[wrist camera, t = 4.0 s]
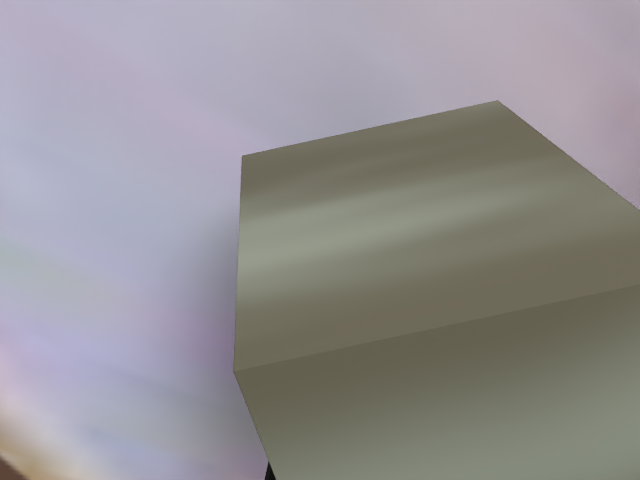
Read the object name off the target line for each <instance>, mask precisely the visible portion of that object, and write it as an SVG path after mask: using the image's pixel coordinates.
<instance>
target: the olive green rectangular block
mask: <svg viewBox="0 0 640 480" xmlns="http://www.w3.org/2000/svg"><path fill="white" fill-rule="evenodd" d="M234 374H235V376H236V379H237V382H238V384H239V387H240V389H241V392H242V394H243V397H244V399H245V402H246V404H247V407H248V409H249V412H250V414H251V417H252V420H253V422H254V425H255V427H256V430H257V432H258V435H259V437H260V440H261V442H262V445H263V447H264V450H265V452H266V455H267V458H268V460H269V463H270V465H271V468H272V470H273V473H274V475H275V478H276V480H640V210H638V209H637V208H636V207H635V206H633V205H632V204H631V203H629V202H628V201H627V200H626V199H624V198H623V197H622V196H620V195H619V194H618V193H617V192H615V191H614V190H613V189H611V188H610V187H609V186H608V185H606V184H605V183H604V182H602V181H601V180H600V179H598V178H597V177H596V176H595V175H593V174H592V173H591V172H589V171H588V170H587V169H586V168H584V167H583V166H582V165H580V164H579V163H578V162H577V161H575V160H574V159H573V158H571V157H570V156H569V155H568V154H566V153H565V152H564V151H562V150H561V149H560V148H559V147H557V146H556V145H555V144H553V143H552V142H551V141H550V140H548V139H547V138H546V137H544V136H543V135H542V134H541V133H539V132H538V131H537V130H535V129H534V128H533V127H532V126H530V125H529V124H528V123H526V122H525V121H524V120H523V119H521V118H520V117H519V116H517V115H516V114H515V113H514V112H512V111H511V110H510V109H508V108H507V107H506V106H505V105H503V104H502V103H501V102H499V101H498V100H497V101H492V102H488V103H483V104H478V105H474V106H469V107H465V108H460V109H455V110H451V111H446V112H442V113H437V114H432V115H428V116H423V117H419V118H414V119H409V120H405V121H400V122H395V123H391V124H386V125H382V126H377V127H372V128H368V129H363V130H359V131H354V132H349V133H345V134H340V135H336V136H331V137H326V138H322V139H317V140H313V141H308V142H303V143H299V144H294V145H289V146H285V147H280V148H276V149H271V150H266V151H262V152H257V153H253V154H248V155H243V156H242V166H241V192H240V217H239V243H238V269H237V294H236V320H235V345H234Z"/></svg>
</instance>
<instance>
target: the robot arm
mask: <svg viewBox="0 0 640 480" xmlns="http://www.w3.org/2000/svg"><path fill="white" fill-rule="evenodd" d="M265 480H276V478H275V475H274V473H273V470H272V468H271V465H270V463H269V462H268V467H267V472H266V476H265Z"/></svg>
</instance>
